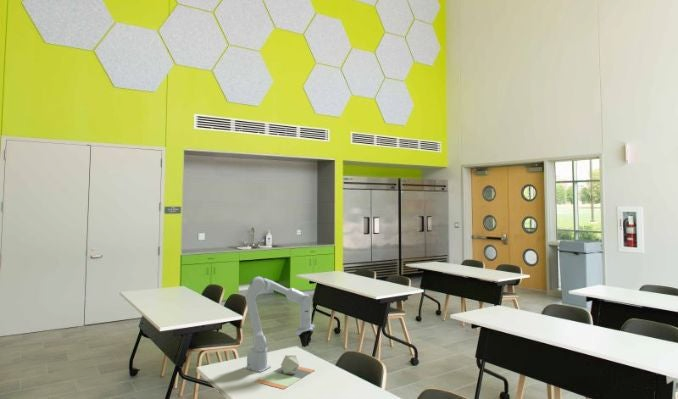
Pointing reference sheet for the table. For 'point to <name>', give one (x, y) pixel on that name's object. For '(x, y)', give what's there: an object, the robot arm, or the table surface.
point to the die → (290, 364)
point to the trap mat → (283, 377)
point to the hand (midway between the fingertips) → (305, 346)
